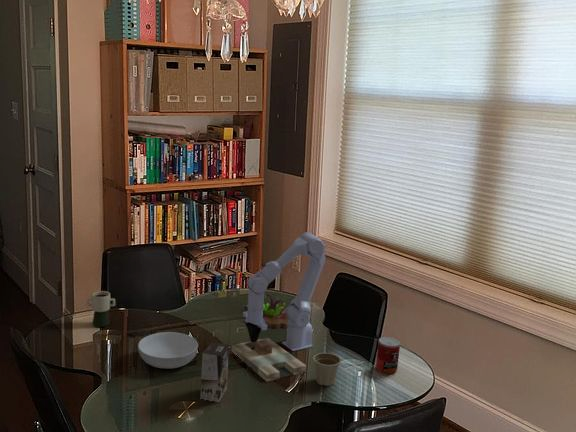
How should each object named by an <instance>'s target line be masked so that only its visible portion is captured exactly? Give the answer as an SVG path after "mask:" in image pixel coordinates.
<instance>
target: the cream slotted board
mask: <svg viewBox="0 0 576 432" xmlns="http://www.w3.org/2000/svg"><path fill="white" fill-rule="evenodd" d="M261 340H267V341H269V342H270V343H271V344H272V353H270V354H266V355H260V354H259V353H257V352H256V351H255V342H251V341H250V340H249V341H246V342H240V343H235V344H231V345H230V352H231V351H232V352H233V353H234V354H235V355H234V354H233V353H232V352H231V353H232V354H233V355H234V356H236V355H237V356H238V357H239V358H240V359H241V360H240V359H239V358H238V357H237V356H236V357H237V358H238V359H239V360H240V361H241V362H243V361H244V362H245V363H246V364H247V365H246V364H245V363H244V362H243V363H244V364H245V365H246V366H247V367H249V368H250V367H251V368H252V369H253V370H252V369H251V368H250V369H251V370H252V371H254V372H255V373H256V374H257V375H258V376H259V377H261V378H262V379H263V380H264V381H265V382H270V381H275V380H280V379H284V378H287V377H290V376H291V377H292V376H294V375H295V376H296V375H299V374H303V373H306V371H307V365H306V364H305V363H304V362H302V361H300V359H298V358H297V357H295V356H294V355H293V354H291V353H290V352H288V351H286V350H285V349H284V348H282V347H281V346H280V345H278V344H277V343H276V342H275V341H273V340H272V339H271V338H269V337H264V338H261V339H260V338H258V340H257V341H261Z"/></svg>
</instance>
